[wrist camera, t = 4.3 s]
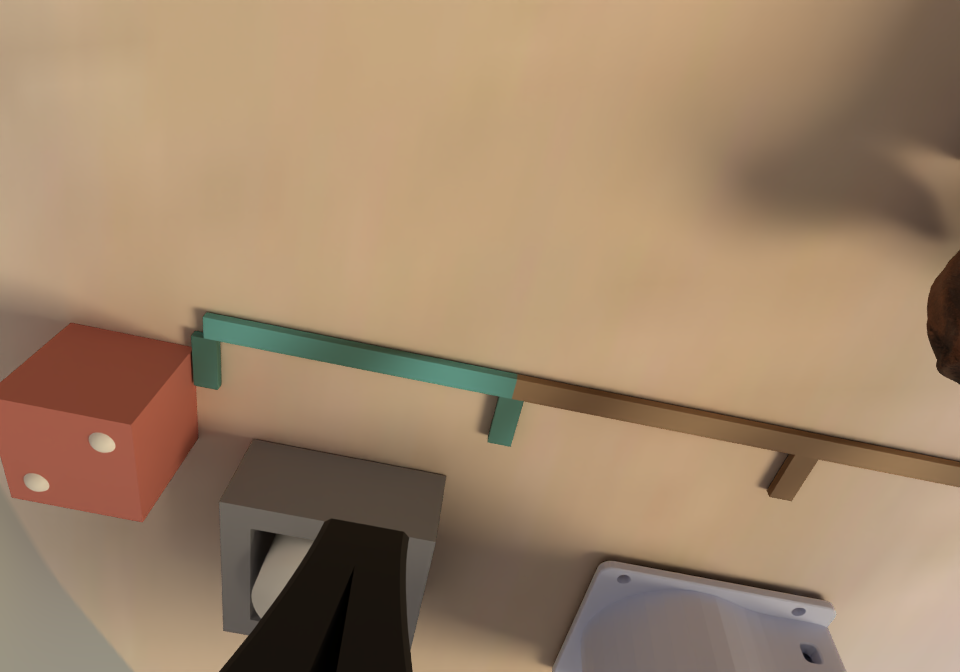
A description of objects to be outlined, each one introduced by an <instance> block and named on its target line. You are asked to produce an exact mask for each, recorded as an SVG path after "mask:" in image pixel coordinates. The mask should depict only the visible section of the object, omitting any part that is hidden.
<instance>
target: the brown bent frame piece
mask: <svg viewBox="0 0 960 672" xmlns="http://www.w3.org/2000/svg"><path fill="white" fill-rule="evenodd" d="M927 317H928V320H927V333H928V338H929V341H930V344H931V347H932V349H933V352H934V354H935V356H936V359H937V363H936V367H937V370H938V371H939V373H940V374H942V375H943V376H945V377H947V378H949V379H951V380H953V381H955V382H957V383H959V384H960V250H959V251H958V253H957V254H956V255H955V256H954V257H953V258H952V259H951V260H950V261H949V262H948V264H947V265H946V267H945V268H944V270H943V271H942V272H941V273H940V274H939V276H938V277H937V278H936V279H935V281H934V283H933V285H932V286H931V289H930V293H929V297H928V303H927Z"/></svg>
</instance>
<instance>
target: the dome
mask: <svg viewBox="0 0 960 672" xmlns="http://www.w3.org/2000/svg"><path fill="white" fill-rule="evenodd" d="M313 542H314V540H309V539H304V538H299V537H293V536H288V535H282V534H277V533H276V535H275V537H274V539H273V542H272V544H271V546H270V549H269V551H268V553H267V556H266V558H265V560H264V563H263V565H262V568H261V570H260V572H259V575H258V577H257V579H256V582H255V584H254V587H253V589H252V595H251V597H252V603H253V606H254V608H255V611H256V612H257V614H258V615H259V617H260V618H262V617H263V616H264V614H265V613H266V612H267V610H268V609H269V608H270V606H271V605H272V604H273V602H274V601H275V599H276V598H277V597H278V595H279V594H280V593H281V591H282V590H283V588H284V587H285V585H286V584H287V582H288V581H289V580H290V578H291V577H292V575H293V574H294V572H295V571H296V569H297V568H298V566H299V565H300V563H301V562H302V560H303V558H304V557H305V555H306V554H307V552H308V550H309V549H310V547H311V545H312V543H313Z"/></svg>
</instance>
